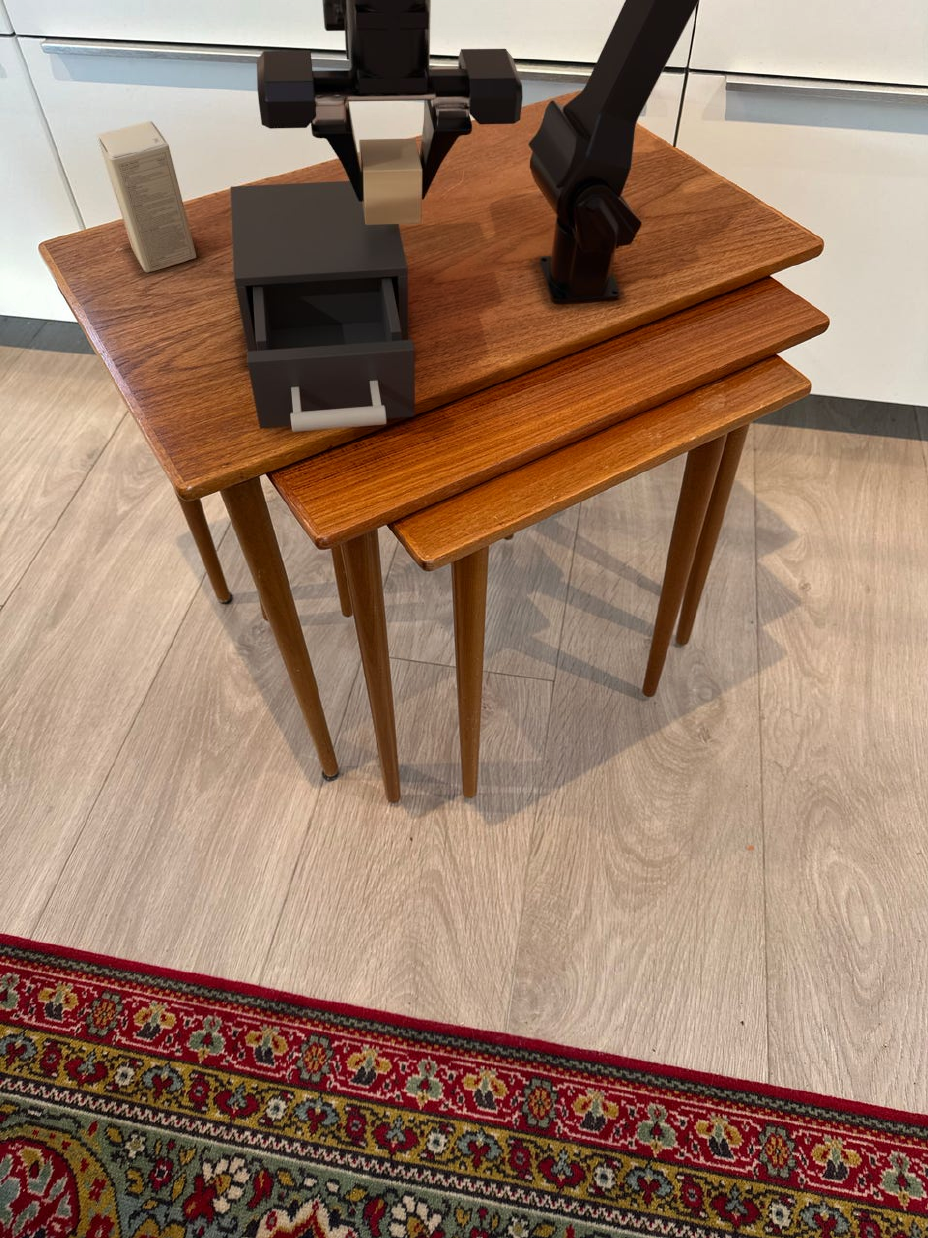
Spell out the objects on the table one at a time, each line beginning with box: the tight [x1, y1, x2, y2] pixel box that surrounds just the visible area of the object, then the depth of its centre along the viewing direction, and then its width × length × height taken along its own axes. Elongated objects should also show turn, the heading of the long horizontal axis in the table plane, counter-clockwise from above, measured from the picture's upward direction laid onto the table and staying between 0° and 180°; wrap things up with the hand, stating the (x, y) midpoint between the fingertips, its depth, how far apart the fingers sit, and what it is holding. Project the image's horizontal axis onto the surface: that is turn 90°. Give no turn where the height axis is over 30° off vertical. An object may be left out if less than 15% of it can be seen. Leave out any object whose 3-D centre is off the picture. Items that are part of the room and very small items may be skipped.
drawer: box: [246, 277, 416, 433], centre depth 73 cm, size 16×12×7 cm
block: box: [358, 137, 423, 225], centre depth 73 cm, size 4×4×4 cm
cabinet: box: [229, 180, 409, 352], centre depth 79 cm, size 13×14×9 cm
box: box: [96, 120, 197, 273], centre depth 82 cm, size 5×4×11 cm
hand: (391, 197), depth 73 cm, fingers closed on block, 4 cm apart
